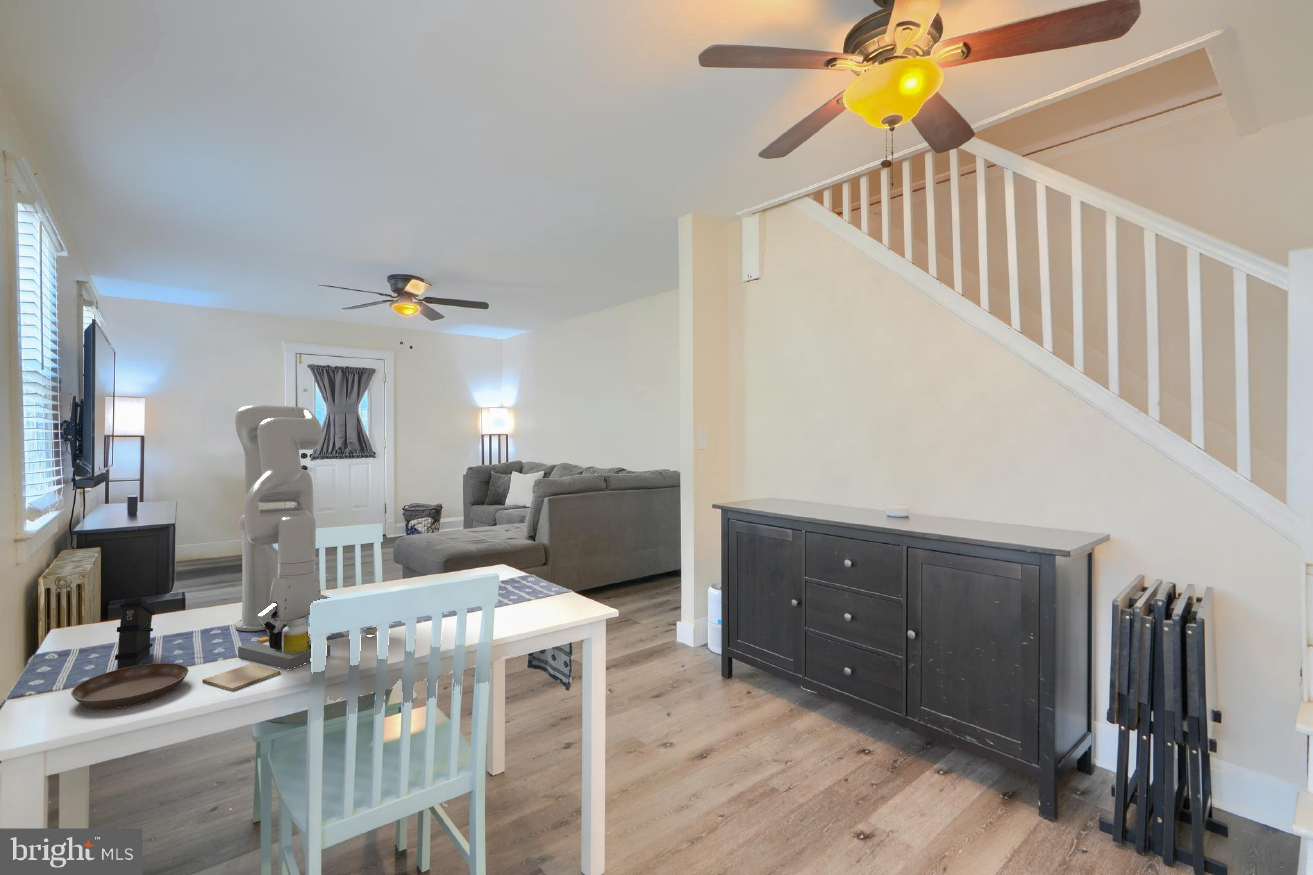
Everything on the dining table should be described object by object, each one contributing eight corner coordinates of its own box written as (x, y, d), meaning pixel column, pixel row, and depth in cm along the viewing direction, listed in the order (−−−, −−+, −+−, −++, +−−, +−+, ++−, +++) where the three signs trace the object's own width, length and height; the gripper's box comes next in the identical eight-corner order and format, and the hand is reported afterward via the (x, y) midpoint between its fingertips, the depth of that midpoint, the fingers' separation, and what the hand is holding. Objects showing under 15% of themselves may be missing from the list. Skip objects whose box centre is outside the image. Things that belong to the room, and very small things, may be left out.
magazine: (109, 669, 128) (120, 598, 134) (128, 675, 139) (138, 609, 144) (132, 666, 130) (142, 596, 135) (149, 672, 140) (158, 608, 146)
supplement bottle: (311, 659, 139) (312, 617, 139) (284, 665, 135) (285, 622, 135) (305, 653, 143) (306, 612, 143) (279, 658, 139) (280, 616, 139)
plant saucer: (188, 698, 119) (188, 683, 119) (63, 724, 108) (63, 707, 108) (188, 670, 133) (188, 656, 133) (78, 690, 122) (78, 675, 122)
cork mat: (251, 665, 135) (251, 663, 135) (280, 673, 131) (280, 670, 131) (202, 682, 126) (202, 679, 126) (232, 691, 122) (232, 688, 122)
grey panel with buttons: (279, 643, 149) (280, 631, 149) (330, 655, 142) (330, 642, 142) (238, 657, 140) (238, 644, 140) (289, 670, 133) (289, 656, 133)
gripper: (319, 560, 149) (319, 629, 149) (248, 574, 133) (247, 651, 133) (341, 562, 146) (340, 633, 146) (270, 577, 130) (269, 656, 130)
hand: (296, 642), depth 139 cm, fingers open, 9 cm apart
